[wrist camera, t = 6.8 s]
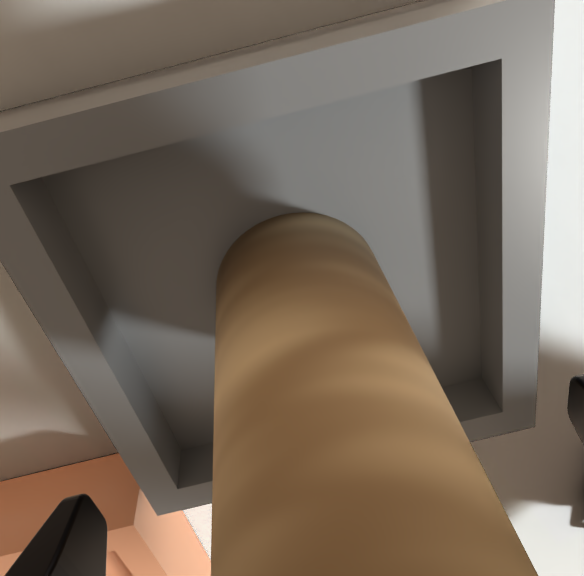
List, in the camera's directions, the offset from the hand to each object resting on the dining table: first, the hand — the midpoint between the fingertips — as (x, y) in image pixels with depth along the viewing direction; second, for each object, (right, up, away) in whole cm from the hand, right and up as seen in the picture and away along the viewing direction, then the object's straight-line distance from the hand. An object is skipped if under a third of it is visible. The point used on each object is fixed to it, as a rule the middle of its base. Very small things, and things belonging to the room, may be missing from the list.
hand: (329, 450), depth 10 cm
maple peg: (0, +3, +5) cm, 6 cm away
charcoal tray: (-1, +3, +6) cm, 7 cm away
